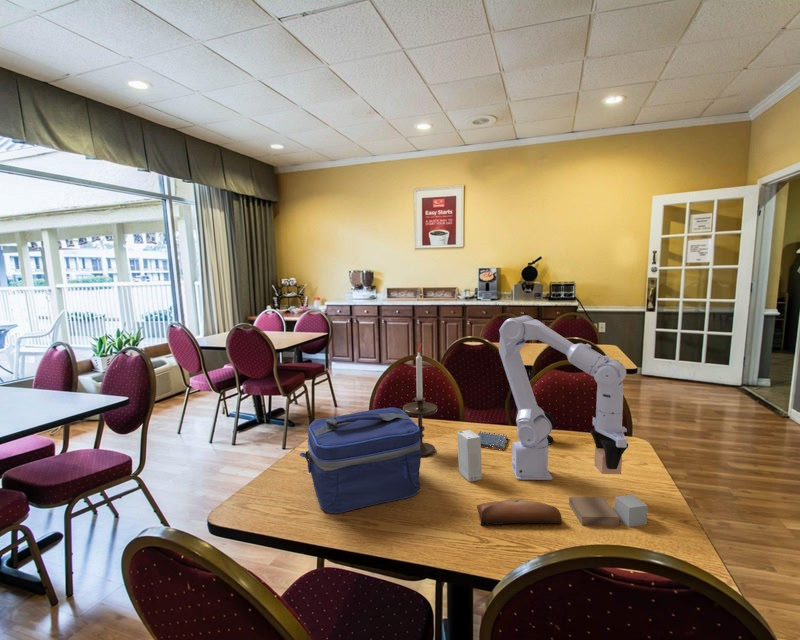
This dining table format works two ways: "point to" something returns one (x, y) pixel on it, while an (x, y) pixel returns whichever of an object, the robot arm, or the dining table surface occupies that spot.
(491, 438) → the woven mat
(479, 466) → the skincare box
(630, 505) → the grey cube
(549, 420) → the webcam
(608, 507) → the walnut slab
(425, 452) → the candlestick
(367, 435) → the lunch bag
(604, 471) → the terracotta cube
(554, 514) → the sunglasses case
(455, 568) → the dining table surface
